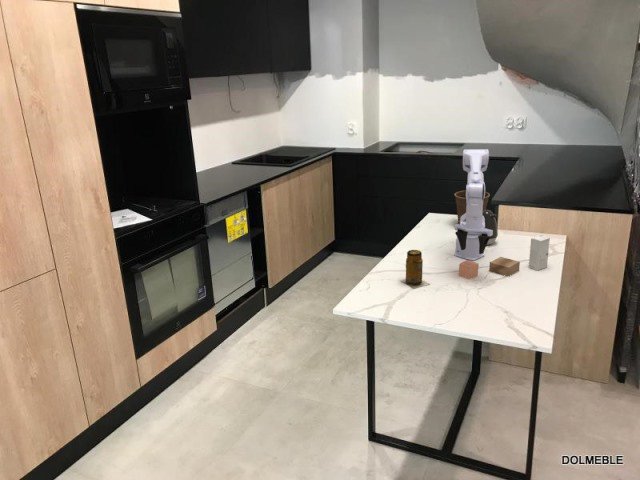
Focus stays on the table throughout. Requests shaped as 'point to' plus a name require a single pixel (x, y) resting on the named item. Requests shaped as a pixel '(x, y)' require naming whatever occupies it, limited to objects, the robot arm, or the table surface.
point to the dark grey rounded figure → (490, 224)
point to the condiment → (414, 269)
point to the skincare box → (539, 252)
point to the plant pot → (462, 203)
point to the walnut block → (504, 266)
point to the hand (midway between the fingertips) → (472, 251)
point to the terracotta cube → (468, 269)
